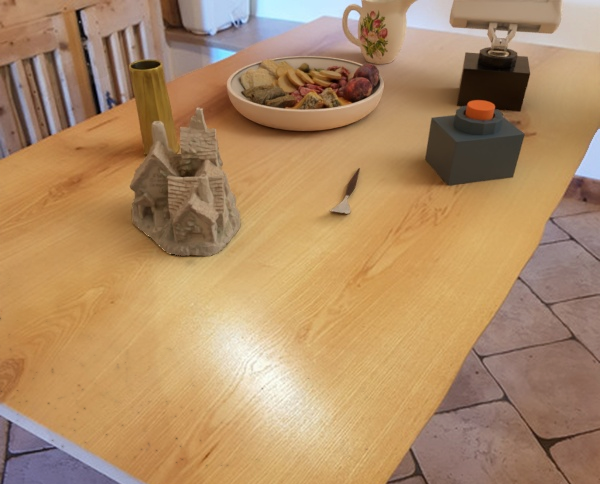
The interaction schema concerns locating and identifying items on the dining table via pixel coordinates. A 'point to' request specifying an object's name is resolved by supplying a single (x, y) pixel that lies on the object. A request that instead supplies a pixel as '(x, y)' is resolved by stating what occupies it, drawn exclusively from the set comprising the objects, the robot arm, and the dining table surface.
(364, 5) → the pitcher
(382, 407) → the dining table surface
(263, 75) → the bowl
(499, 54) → the power button
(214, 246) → the ceramic cottage
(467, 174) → the button housing
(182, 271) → the dining table surface
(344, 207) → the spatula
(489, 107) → the orange push button
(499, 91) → the base unit
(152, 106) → the vase
